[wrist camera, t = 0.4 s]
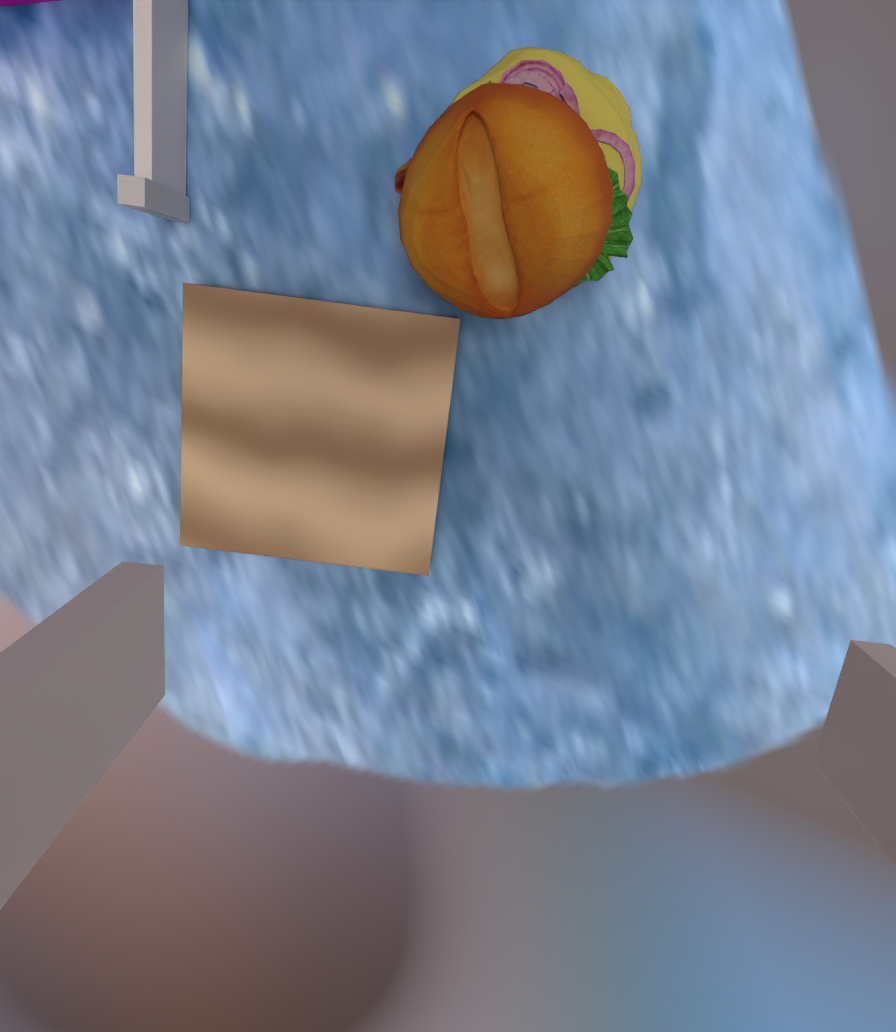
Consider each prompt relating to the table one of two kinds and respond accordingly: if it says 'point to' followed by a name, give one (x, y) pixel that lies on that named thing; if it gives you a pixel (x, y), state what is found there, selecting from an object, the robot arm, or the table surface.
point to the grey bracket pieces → (159, 111)
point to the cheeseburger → (521, 186)
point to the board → (313, 428)
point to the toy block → (21, 2)
